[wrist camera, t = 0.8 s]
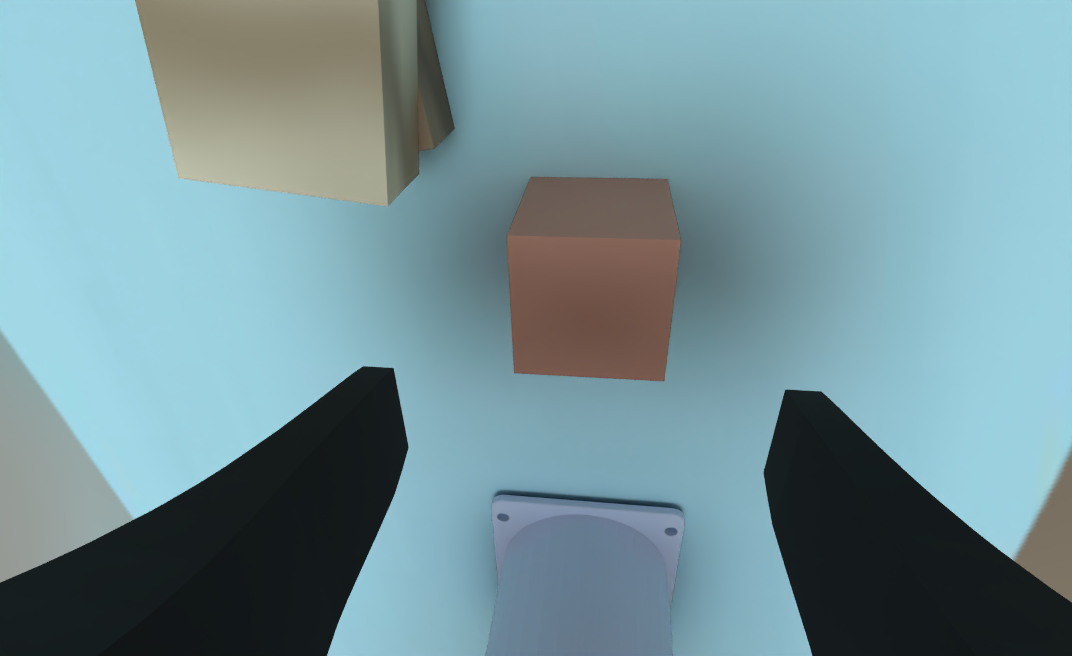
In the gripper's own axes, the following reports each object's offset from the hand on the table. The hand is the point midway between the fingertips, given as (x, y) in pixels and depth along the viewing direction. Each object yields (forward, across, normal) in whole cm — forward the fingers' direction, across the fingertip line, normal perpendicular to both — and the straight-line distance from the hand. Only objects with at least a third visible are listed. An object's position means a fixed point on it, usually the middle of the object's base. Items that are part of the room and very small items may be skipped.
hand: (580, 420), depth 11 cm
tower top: (+6, +7, -6) cm, 11 cm away
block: (+9, 0, 0) cm, 9 cm away
